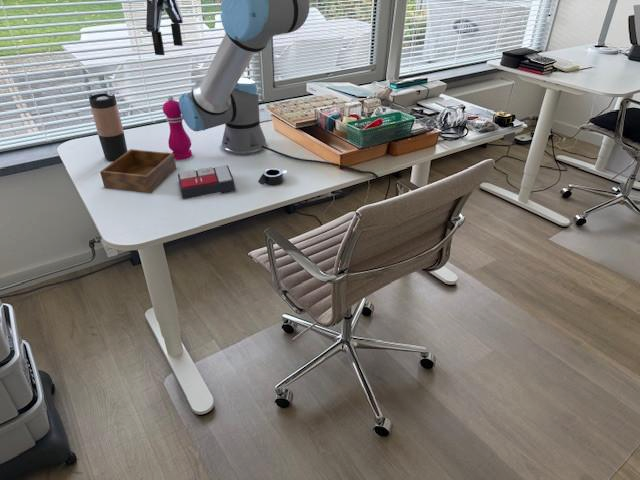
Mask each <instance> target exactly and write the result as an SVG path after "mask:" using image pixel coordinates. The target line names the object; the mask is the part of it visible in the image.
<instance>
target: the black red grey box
mask: <svg viewBox="0 0 640 480" xmlns="http://www.w3.org/2000/svg"><path fill="white" fill-rule="evenodd" d="M177 177H178V183H179V189H180V193H181V198H182V199H183V200H187V199H192V198H198V197H202V196H207V195H213V194H219V193H220V194H228V193H234V192H236V186H235V185H236V184H235V180H234V177H233V174H232V172H231V169H230V166H229V165H227V164H224V165H223V164H222V165H218V166H214V167H213V166H208V167H202V168H197V169H191V170H190V169H189V170H185V171H180V172H179V173H178V174H177Z"/></svg>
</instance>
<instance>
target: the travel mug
mask: <svg viewBox="0 0 640 480" xmlns="http://www.w3.org/2000/svg"><path fill="white" fill-rule="evenodd" d="M88 101H89V103H90V104H89V105H90V110H91V112H92V116H93V121H94V124H95V128H96V132H97V135H98V139H99V143H100V145H101V149H102V152H103V155H104V159H105V161H107V162H111V163H112V162H114V161H115V160H117V159H118V158H119V157H121V156H122V155H123V154H125V153H126V152H127V151H128V146H127V141H126V137H125V131H124V127H123V122H122V120H121V115H120V111H119V106H118V101H117V98H116V95H115V94H111V95H110V94H107V93H97V94H93V95H90V96H89V97H88Z"/></svg>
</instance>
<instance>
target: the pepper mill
mask: <svg viewBox="0 0 640 480" xmlns="http://www.w3.org/2000/svg"><path fill="white" fill-rule="evenodd" d="M162 112H163V114H164V115H165V116H166V117H165V118H166V122H167V123H168V125H169V137H168V143H167V144H168V148H169V150H171V151H172V152H171V153H174V159H175V161H185V160H187V159H190V158H192V156H193V152H192V149H191V147H192V140H191V138H190V136H189V135H188V133H187V132H186V130H185V128H184V125H183V121H184V119H183V117H182V114H181V111H180V107H179V100H178V101H177V100H174V96H172V95H168V96H167V101H165V102H164V103H163V104H162Z"/></svg>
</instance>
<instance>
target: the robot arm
mask: <svg viewBox="0 0 640 480" xmlns="http://www.w3.org/2000/svg"><path fill="white" fill-rule="evenodd" d="M310 5H311V4H310V0H221V3H220V10H221V13H220V20H221V25H222V27H223V30H224V33H225V34H224V36H223V37H222V39H221V42H220V44H219V46H218V48H217V49H216V52H215V54H214V56H213V59H212V60H211V63H210V65H209V67H208V69H207V70H206V74H205V75H204V77H203V78H201V79H199V80H197V81H196V82H195V84H194V85H193V86H192V87H193V88H192V90H191V91H190V92H184V93H183V94H181V95H180V96H179V98H178V102H179V107H180V111H181V115H182V118H183V121H184V123H185V124H186V126H187V127H188V128H189V129H190V130H192V131H193V132H201V131H206V130H209V129H213V128H215V127H216V128H217V127H219V126H222V125H224V132H223V136H222V140H221V147H222V150H223V151H224V152H225V153H227V154H230V155H233V156H234V155H235V156H251V155H255V154H259V153H261V152H264V151H265V150H267V151H270V152H272V153H274V154H277V155H280V156H282V157H286V158H288V159H291V160H296V161H301V162H307V163H309V162H310V163H317V164H324V165H329V166H330V165H331V166H336V167H341V168H344V169H347V170H349V171H354V172H357V173H360V174H370V175H373V176H374V177H375V178H376V179H380V176H379V175H378V174H377V173H375V171H370V170H360V169H357V168H354V167H351V166H348V165H345V164H341V165H339V164H340V163H336V162H330V161H324V160H317V159H306V158H301V157H300V158H299V157H295V156H292V155H289V154H285V153H283V152H281V151H278V150H275V149H273V148H270V147H268V146H267V139H266V137H265V134H264V132H263V128H262V126H261V121H260V106H259V105H260V104H259V96H260V95H259V94H260V93H259V90H258V84H257V83H256V81H254V80H253V79H249V78H244V77H242V76H243V75H244V72H245V71H246V69H247V67H248V66H249V64H250V62H251V61H252V59H253V57H254V56H255V54H257V53H260V52H262V51H264V50H265V49H266V47H267V46H268V44H269V42H270V41H271V39H272V38H273V37H275V36H279V35H286V34H290V33H294V32H295V31H298V30H300V28H301V27H302V26H303V25H304V24H305V22H306V21H307V19H308V17H309V13H310ZM164 12H166V14H167V16H168V18H169V20H170V22H171V23H170V27H171V34H172V41H173V46H176V47H177V46H178V47H182V46H184V45H183V36H182V29H181V24H184V23H183V22H184V20H183V16H182V12H181V9H180V6H179V4H178V1H177V0H146V22H145V23H146V24H145V29H146V31H147V33H151V39H152V44H153V50H154V55H155V56H165V55H166V54H165V47H164V43H163V36H162V31H160V28H161V23H162V22H161V21H162V15H163V13H164Z"/></svg>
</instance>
